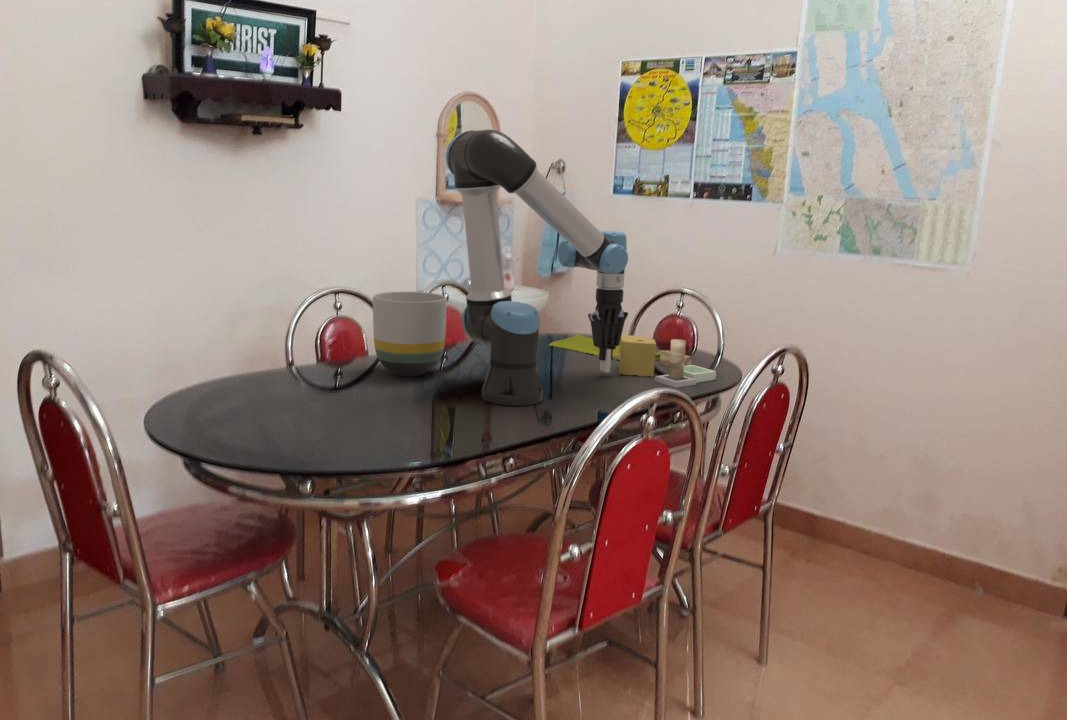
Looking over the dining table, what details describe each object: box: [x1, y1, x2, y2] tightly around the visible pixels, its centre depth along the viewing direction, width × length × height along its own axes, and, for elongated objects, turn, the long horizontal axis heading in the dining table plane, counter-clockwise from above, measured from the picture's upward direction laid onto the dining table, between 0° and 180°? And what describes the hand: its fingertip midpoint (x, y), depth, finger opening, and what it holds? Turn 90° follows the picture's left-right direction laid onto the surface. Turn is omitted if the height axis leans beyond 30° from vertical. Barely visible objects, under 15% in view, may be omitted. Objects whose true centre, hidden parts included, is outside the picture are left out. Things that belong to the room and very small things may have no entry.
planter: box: [372, 291, 448, 377], centre depth 226 cm, size 20×20×21 cm
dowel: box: [668, 338, 687, 381], centre depth 230 cm, size 4×4×12 cm
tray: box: [683, 364, 717, 384], centre depth 238 cm, size 9×9×2 cm
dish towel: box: [548, 333, 665, 362], centre depth 269 cm, size 15×36×3 cm, turn 49°
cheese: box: [618, 334, 657, 378], centre depth 242 cm, size 10×11×10 cm
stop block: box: [659, 349, 693, 368], centre depth 251 cm, size 3×10×4 cm, turn 36°
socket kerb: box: [654, 373, 697, 388], centre depth 231 cm, size 8×8×2 cm
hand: (604, 371), depth 235 cm, fingers closed
